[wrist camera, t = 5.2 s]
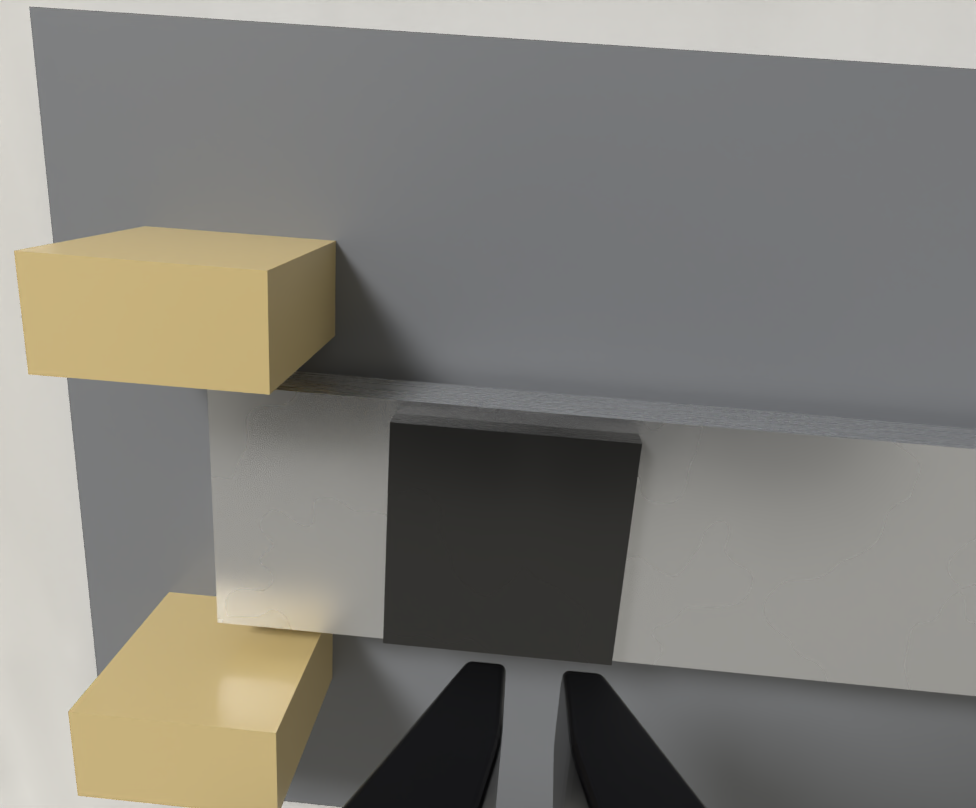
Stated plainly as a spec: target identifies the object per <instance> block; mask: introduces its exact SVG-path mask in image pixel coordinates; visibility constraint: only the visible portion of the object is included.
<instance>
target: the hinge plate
mask: <svg viewBox="0 0 976 808" xmlns="http://www.w3.org/2000/svg"><path fill="white" fill-rule="evenodd" d="M29 8H30V18H31V27H32V37H33V47H34V57H35V67H36V77H37V86H38V96H39V106H40V116H41V126H42V136H43V145H44V155H45V165H46V175H47V185H48V195H49V204H50V214H51V224H52V234H53V244H48V245H42V246H37V247H32V248H26V249H21V250H16V251H14V254H15V263H16V271H17V280H18V288H19V297H20V305H21V314H22V322H23V331H24V339H25V348H26V356H27V365H28V373H29V374H32V375H43V376H55V377H67V381H68V391H69V401H70V411H71V421H72V431H73V440H74V450H75V460H76V470H77V480H78V490H79V499H80V509H81V519H82V529H83V539H84V549H85V558H86V568H87V578H88V588H89V598H90V608H91V617H92V627H93V637H94V647H95V657H96V666H97V676H98V677H97V678H96V679H95V681H94V682H93V683H92V684H91V685H90V687H89V688H88V689H87V690H86V691H85V692H84V694H83V695H82V696H81V697H80V698H79V700H78V701H77V702H76V703H75V704H74V706H73V707H72V708H71V709H70V710H69V711H68V714H69V723H70V731H71V740H72V748H73V757H74V766H75V774H76V783H77V791H78V796H86V797H96V798H105V799H115V800H124V801H133V802H143V803H152V804H162V805H171V806H181V807H190V808H281V807H282V804H283V802H284V801H289V802H299V803H308V804H318V805H327V806H337V807H343V806H344V805H345V804H346V802H347V801H348V800H349V799H350V798H351V797H352V795H353V794H354V793H355V792H356V791H357V790H358V788H359V787H360V786H361V785H362V784H363V783H364V781H365V780H366V779H367V778H368V777H369V776H370V774H371V773H372V772H373V771H374V770H375V769H376V767H377V766H378V765H379V764H380V763H381V762H382V760H383V759H384V758H385V757H386V756H387V755H388V753H389V752H390V751H391V750H392V749H393V748H394V746H395V745H396V744H397V743H398V742H399V741H400V739H401V738H402V737H403V736H404V735H405V734H406V732H407V731H408V730H409V729H410V728H411V727H412V726H413V724H414V723H415V722H416V721H417V720H418V719H419V717H420V716H421V715H422V714H423V713H424V712H425V710H426V709H427V708H428V707H429V706H430V705H431V703H432V702H433V701H434V700H435V699H436V698H437V696H438V695H439V694H440V693H441V692H442V691H443V689H444V688H445V687H446V686H447V685H448V684H449V682H450V681H451V680H452V679H453V678H454V677H455V675H456V674H457V673H458V672H459V671H460V670H461V668H462V667H463V666H464V665H465V664H466V663H468V662H470V661H475V662H485V663H495V664H501V665H503V666H504V667H505V669H506V679H505V698H504V716H503V733H502V744H501V755H500V766H499V778H498V789H497V800H496V808H553V762H554V740H555V730H556V721H557V713H558V704H559V695H560V687H561V680H562V676H563V674H564V673H565V672H566V671H578V672H589V673H598V674H601V675H602V676H604V677H605V678H606V680H607V681H608V682H609V684H610V685H611V686H612V687H613V689H614V690H615V691H616V692H617V694H618V695H619V696H620V698H621V699H622V700H623V701H624V703H625V704H626V705H627V707H628V708H629V709H630V710H631V712H632V713H633V714H634V715H635V717H636V718H637V719H638V721H639V722H640V723H641V724H642V726H643V727H644V728H645V730H646V731H647V732H648V733H649V735H650V736H651V737H652V739H653V740H654V741H655V742H656V744H657V745H658V746H659V747H660V749H661V750H662V751H663V753H664V754H665V755H666V756H667V758H668V759H669V760H670V762H671V763H672V764H673V765H674V767H675V768H676V769H677V771H678V772H679V773H680V774H681V776H682V777H683V778H684V779H685V781H686V782H687V783H688V785H689V786H690V787H691V788H692V790H693V791H694V792H695V794H696V795H697V796H698V797H699V799H700V800H701V801H702V802H703V804H704V805H705V806H706V808H976V696H969V695H959V694H949V693H938V692H928V691H918V690H907V689H897V688H887V687H876V686H866V685H856V684H846V683H835V682H825V681H815V680H804V679H794V678H784V677H773V676H763V675H753V674H743V673H732V672H722V671H712V670H701V669H691V668H681V667H670V666H660V665H650V664H640V663H629V662H619V661H612V665H602V664H591V663H581V662H571V661H561V660H550V659H540V658H530V657H519V656H509V655H499V654H489V653H478V652H468V651H458V650H448V649H437V648H427V647H417V646H406V645H396V644H386V643H383V639H382V638H372V637H362V636H351V635H341V634H331V633H320V632H310V631H300V630H289V629H279V628H269V627H259V626H248V625H238V624H228V623H218V620H217V598H216V575H215V553H214V530H213V508H212V485H211V463H210V440H209V418H208V395H207V389H209V390H221V391H232V392H244V393H256V394H268V395H270V394H271V393H272V392H273V391H274V390H275V389H276V388H278V387H279V386H280V385H281V384H282V383H283V382H284V381H285V380H286V379H288V378H289V377H290V376H291V375H292V374H293V373H294V372H295V371H298V372H310V373H322V374H334V375H346V376H358V377H370V378H381V379H393V380H405V381H417V382H429V383H441V384H453V385H465V386H477V387H489V388H501V389H513V390H525V391H537V392H549V393H561V394H572V395H584V396H596V397H608V398H620V399H632V400H644V401H656V402H668V403H680V404H692V405H704V406H716V407H728V408H740V409H752V410H763V411H775V412H787V413H799V414H811V415H823V416H835V417H847V418H859V419H871V420H883V421H895V422H907V423H919V424H931V425H943V426H954V427H966V428H976V69H966V68H951V67H936V66H921V65H905V64H890V63H875V62H860V61H845V60H830V59H815V58H799V57H784V56H769V55H754V54H739V53H724V52H709V51H693V50H678V49H663V48H648V47H633V46H618V45H603V44H587V43H572V42H557V41H542V40H527V39H512V38H497V37H481V36H466V35H451V34H436V33H421V32H406V31H391V30H375V29H360V28H345V27H330V26H315V25H300V24H285V23H270V22H254V21H239V20H224V19H209V18H194V17H179V16H164V15H148V14H133V13H118V12H103V11H88V10H73V9H58V8H42V7H29Z"/></svg>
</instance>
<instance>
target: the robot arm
mask: <svg viewBox="0 0 976 808" xmlns="http://www.w3.org/2000/svg"><path fill="white" fill-rule="evenodd" d="M505 679H506V669H505V667H504V666H503V665H501V664H495V663H485V662H475V661H470V662H468V663H466V664H465V665H464V666H463V667H462V668H461V670H460V671H459V672H458V673H457V674H456V675H455V677H454V678H453V679H452V680H451V681H450V682H449V684H448V685H447V686H446V687H445V688H444V689H443V691H442V692H441V693H440V694H439V695H438V696H437V698H436V699H435V700H434V701H433V702H432V703H431V705H430V706H429V707H428V708H427V709H426V710H425V712H424V713H423V714H422V715H421V716H420V717H419V719H418V720H417V721H416V722H415V723H414V724H413V726H412V727H411V728H410V729H409V730H408V731H407V732H406V734H405V735H404V736H403V737H402V738H401V739H400V741H399V742H398V743H397V744H396V745H395V746H394V748H393V749H392V750H391V751H390V752H389V753H388V755H387V756H386V757H385V758H384V759H383V760H382V762H381V763H380V764H379V765H378V766H377V767H376V769H375V770H374V771H373V772H372V773H371V774H370V776H369V777H368V778H367V779H366V780H365V781H364V783H363V784H362V785H361V786H360V787H359V788H358V790H357V791H356V792H355V793H354V794H353V795H352V797H351V798H350V799H349V800H348V801H347V802H346V804H345V805H344V806H343V807H342V808H496V800H497V789H498V778H499V766H500V755H501V744H502V733H503V716H504V698H505ZM553 808H706V806H705V805H704V804H703V802H702V801H701V800H700V799H699V797H698V796H697V795H696V794H695V792H694V791H693V790H692V788H691V787H690V786H689V785H688V783H687V782H686V781H685V779H684V778H683V777H682V776H681V774H680V773H679V772H678V771H677V769H676V768H675V767H674V765H673V764H672V763H671V762H670V760H669V759H668V758H667V756H666V755H665V754H664V753H663V751H662V750H661V749H660V747H659V746H658V745H657V744H656V742H655V741H654V740H653V739H652V737H651V736H650V735H649V733H648V732H647V731H646V730H645V728H644V727H643V726H642V724H641V723H640V722H639V721H638V719H637V718H636V717H635V715H634V714H633V713H632V712H631V710H630V709H629V708H628V707H627V705H626V704H625V703H624V701H623V700H622V699H621V698H620V696H619V695H618V694H617V692H616V691H615V690H614V689H613V687H612V686H611V685H610V684H609V682H608V681H607V680H606V678H605V677H604V676H602V675H601V674H598V673H589V672H578V671H566V672H565V673H564V674H563V676H562V680H561V687H560V695H559V704H558V713H557V721H556V730H555V740H554V762H553Z"/></svg>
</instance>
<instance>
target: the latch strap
mask: <svg viewBox="0 0 976 808" xmlns="http://www.w3.org/2000/svg"><path fill="white" fill-rule="evenodd" d="M207 395H208V418H209V440H210V463H211V485H212V508H213V530H214V553H215V575H216V598H217V620H218V623H228V624H238V625H248V626H259V627H269V628H279V629H289V630H300V631H310V632H320V633H331V634H341V635H351V636H362V637H372V638H382V639H383V643H386V644H396V645H406V646H417V647H427V648H437V649H448V650H458V651H468V652H478V653H489V654H499V655H509V656H519V657H530V658H540V659H550V660H561V661H571V662H581V663H591V664H602V665H612V661H619V662H629V663H640V664H650V665H660V666H670V667H681V668H691V669H701V670H712V671H722V672H732V673H743V674H753V675H763V676H773V677H784V678H794V679H804V680H815V681H825V682H835V683H846V684H856V685H866V686H876V687H887V688H897V689H907V690H918V691H928V692H938V693H949V694H959V695H969V696H976V428H966V427H954V426H943V425H931V424H919V423H907V422H895V421H883V420H871V419H859V418H847V417H835V416H823V415H811V414H799V413H787V412H775V411H763V410H752V409H740V408H728V407H716V406H704V405H692V404H680V403H668V402H656V401H644V400H632V399H620V398H608V397H596V396H584V395H572V394H561V393H549V392H537V391H525V390H513V389H501V388H489V387H477V386H465V385H453V384H441V383H429V382H417V381H405V380H393V379H381V378H370V377H358V376H346V375H334V374H322V373H310V372H298V371H295V372H294V373H293V374H292V375H291V376H290V377H289V378H288V379H286V380H285V381H284V382H283V383H282V384H281V385H280V386H279V387H278V388H276V389H275V390H274V391H273V392H272V393H271V394H270V395H268V394H256V393H244V392H232V391H221V390H209V389H207Z"/></svg>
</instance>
